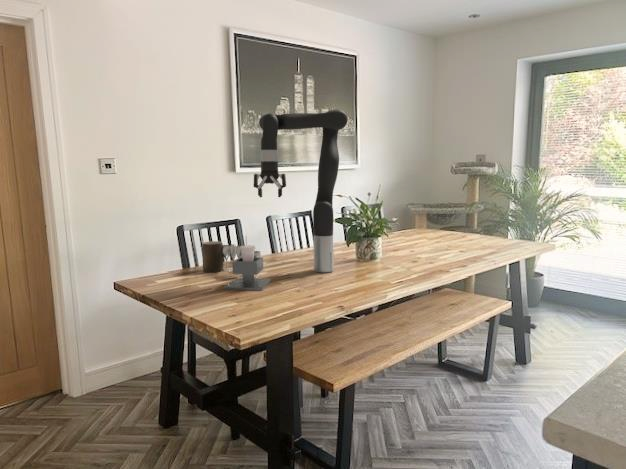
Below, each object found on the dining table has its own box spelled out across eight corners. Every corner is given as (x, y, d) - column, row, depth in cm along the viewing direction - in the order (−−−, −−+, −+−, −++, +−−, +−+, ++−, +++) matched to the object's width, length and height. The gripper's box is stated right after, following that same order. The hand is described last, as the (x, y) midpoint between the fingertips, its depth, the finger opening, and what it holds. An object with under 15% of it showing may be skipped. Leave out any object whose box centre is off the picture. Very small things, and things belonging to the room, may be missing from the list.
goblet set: (264, 277, 220) (263, 248, 218) (254, 280, 216) (253, 250, 214) (228, 268, 240) (227, 241, 238) (218, 270, 236) (217, 243, 234)
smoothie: (241, 267, 209) (240, 235, 207) (256, 267, 210) (255, 234, 208) (240, 270, 203) (239, 237, 201) (255, 270, 203) (254, 237, 201)
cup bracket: (271, 281, 214) (270, 256, 212) (262, 290, 198) (261, 264, 196) (236, 280, 216) (235, 255, 214) (224, 289, 200) (223, 263, 199)
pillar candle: (219, 273, 230) (218, 241, 227) (199, 272, 231) (198, 241, 229) (226, 268, 239) (225, 238, 237) (207, 268, 241) (206, 238, 238)
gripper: (286, 160, 218) (287, 196, 220) (255, 160, 220) (256, 196, 222) (283, 160, 210) (284, 197, 213) (251, 160, 212) (252, 197, 215)
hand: (270, 197), depth 217 cm, fingers open, 8 cm apart
